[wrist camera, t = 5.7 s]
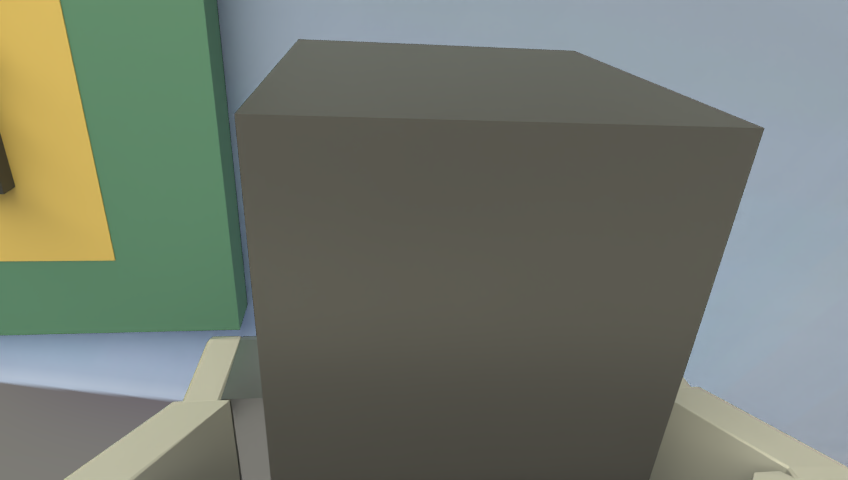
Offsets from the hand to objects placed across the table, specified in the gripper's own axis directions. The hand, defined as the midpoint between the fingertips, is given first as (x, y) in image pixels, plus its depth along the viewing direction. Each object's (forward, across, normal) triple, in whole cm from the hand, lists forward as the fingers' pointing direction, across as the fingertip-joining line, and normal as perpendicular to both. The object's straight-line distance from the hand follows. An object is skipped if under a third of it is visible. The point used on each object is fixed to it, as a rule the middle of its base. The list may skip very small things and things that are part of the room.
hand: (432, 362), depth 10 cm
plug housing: (+2, 0, 0) cm, 2 cm away
